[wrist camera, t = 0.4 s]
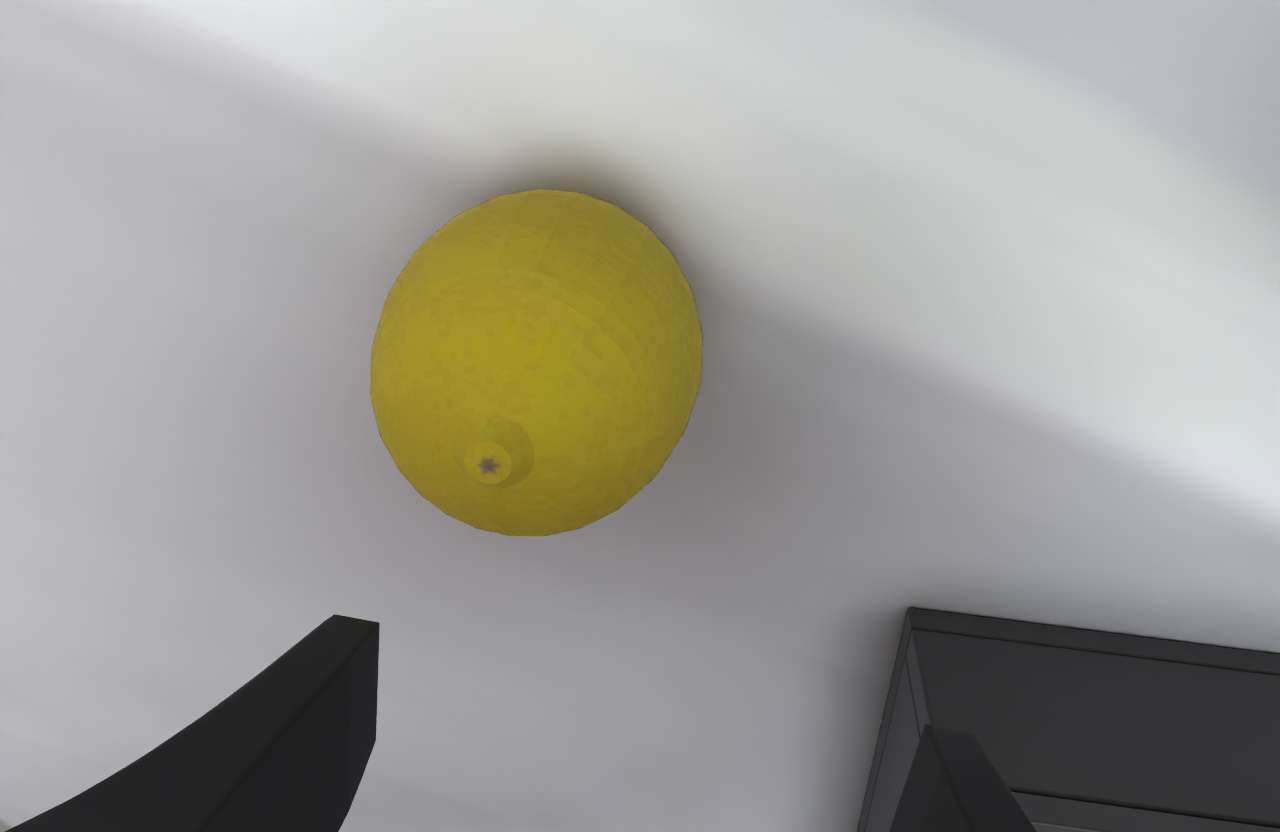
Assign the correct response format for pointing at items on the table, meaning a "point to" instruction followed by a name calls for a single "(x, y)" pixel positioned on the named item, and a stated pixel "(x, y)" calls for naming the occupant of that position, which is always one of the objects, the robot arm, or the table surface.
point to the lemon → (536, 362)
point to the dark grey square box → (1087, 717)
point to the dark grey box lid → (1116, 818)
